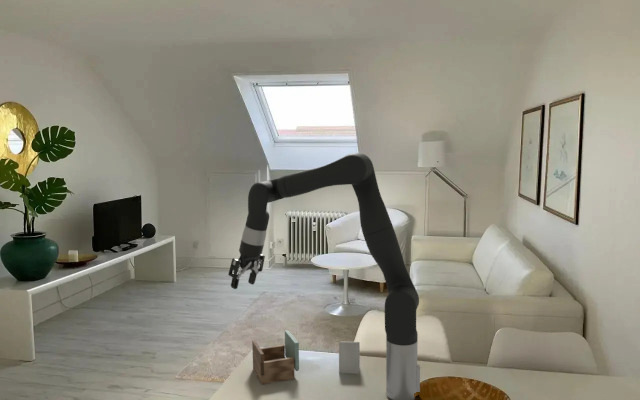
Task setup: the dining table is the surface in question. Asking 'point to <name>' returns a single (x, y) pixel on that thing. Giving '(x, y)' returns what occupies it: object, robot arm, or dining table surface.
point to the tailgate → (292, 348)
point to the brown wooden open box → (272, 364)
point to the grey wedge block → (349, 357)
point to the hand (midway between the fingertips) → (242, 285)
